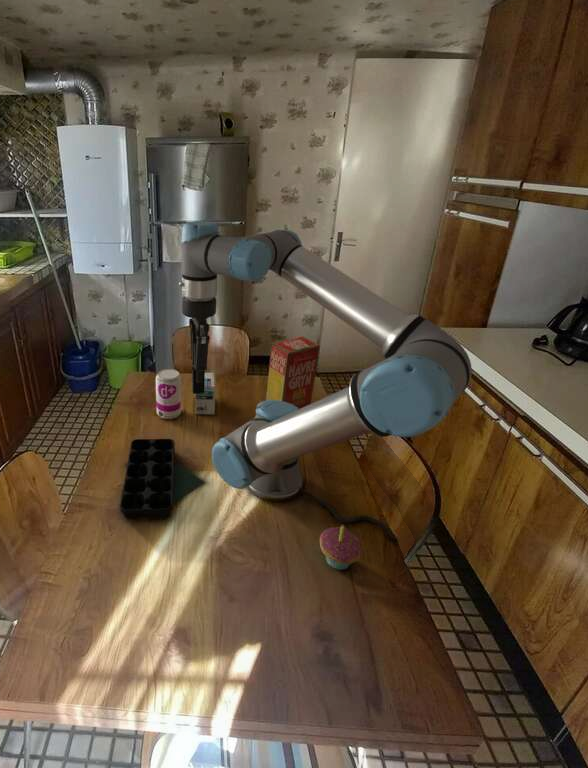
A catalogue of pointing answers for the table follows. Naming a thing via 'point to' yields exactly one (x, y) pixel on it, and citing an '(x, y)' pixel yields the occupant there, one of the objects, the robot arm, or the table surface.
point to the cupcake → (340, 547)
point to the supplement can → (168, 393)
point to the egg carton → (149, 479)
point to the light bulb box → (206, 396)
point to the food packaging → (292, 371)
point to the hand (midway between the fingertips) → (198, 391)
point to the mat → (184, 482)
